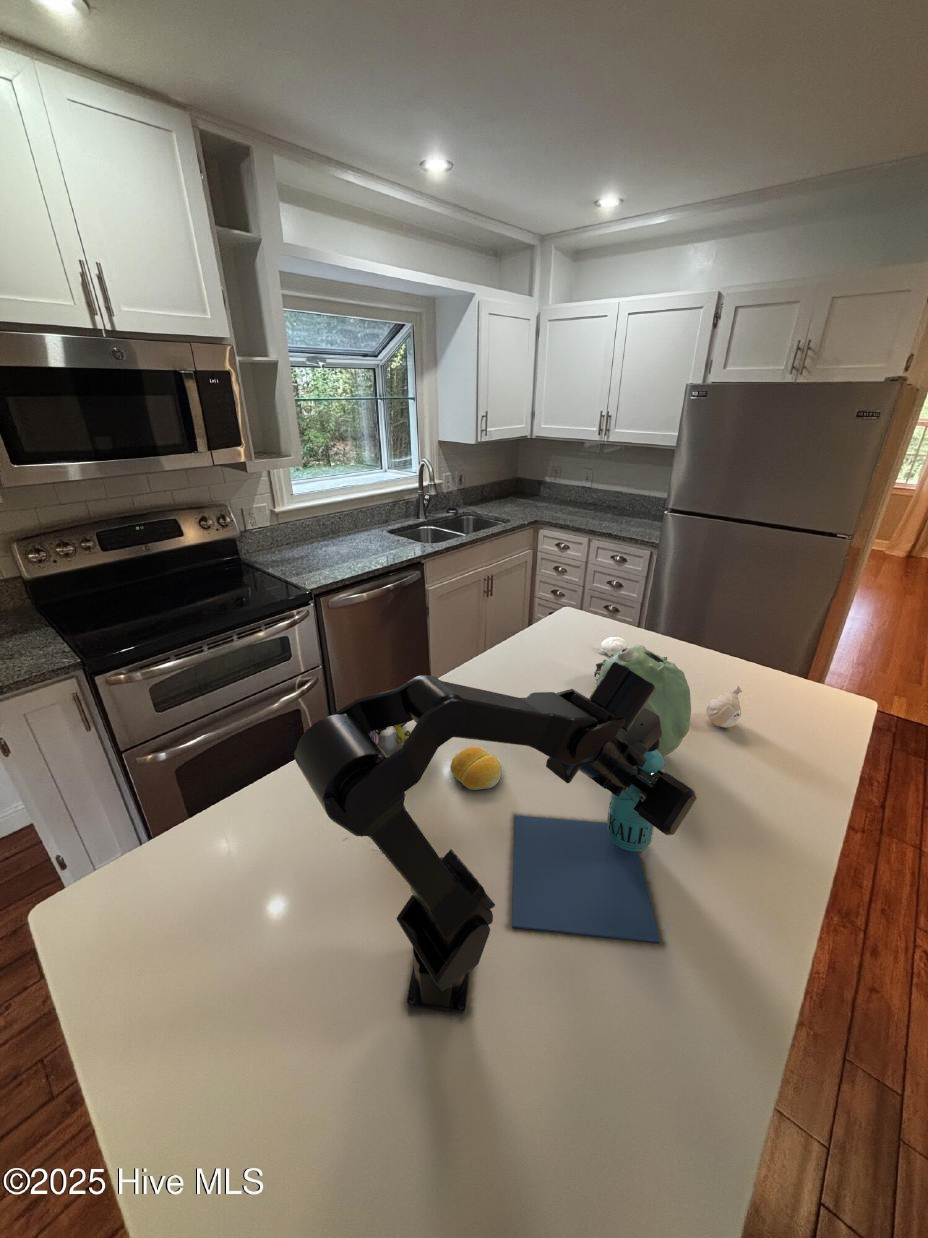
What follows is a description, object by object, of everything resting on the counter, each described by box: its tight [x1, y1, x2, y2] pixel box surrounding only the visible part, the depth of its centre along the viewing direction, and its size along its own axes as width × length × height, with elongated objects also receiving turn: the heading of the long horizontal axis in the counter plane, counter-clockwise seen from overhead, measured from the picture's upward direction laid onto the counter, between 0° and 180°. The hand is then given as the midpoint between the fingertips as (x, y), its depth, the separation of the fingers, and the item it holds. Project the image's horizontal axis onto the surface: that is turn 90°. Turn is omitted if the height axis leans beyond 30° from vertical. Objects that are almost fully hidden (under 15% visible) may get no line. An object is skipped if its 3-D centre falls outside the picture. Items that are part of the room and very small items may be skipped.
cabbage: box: [593, 644, 692, 757], centre depth 89 cm, size 16×19×20 cm
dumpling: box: [600, 636, 628, 657], centre depth 127 cm, size 7×5×4 cm
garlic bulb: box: [705, 685, 743, 728], centre depth 99 cm, size 7×6×8 cm
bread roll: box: [449, 746, 503, 791], centre depth 87 cm, size 8×9×4 cm
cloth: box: [511, 815, 661, 944], centre depth 70 cm, size 18×18×1 cm
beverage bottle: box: [606, 739, 666, 852], centre depth 70 cm, size 6×7×20 cm
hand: (640, 786), depth 71 cm, fingers closed on beverage bottle, 6 cm apart
